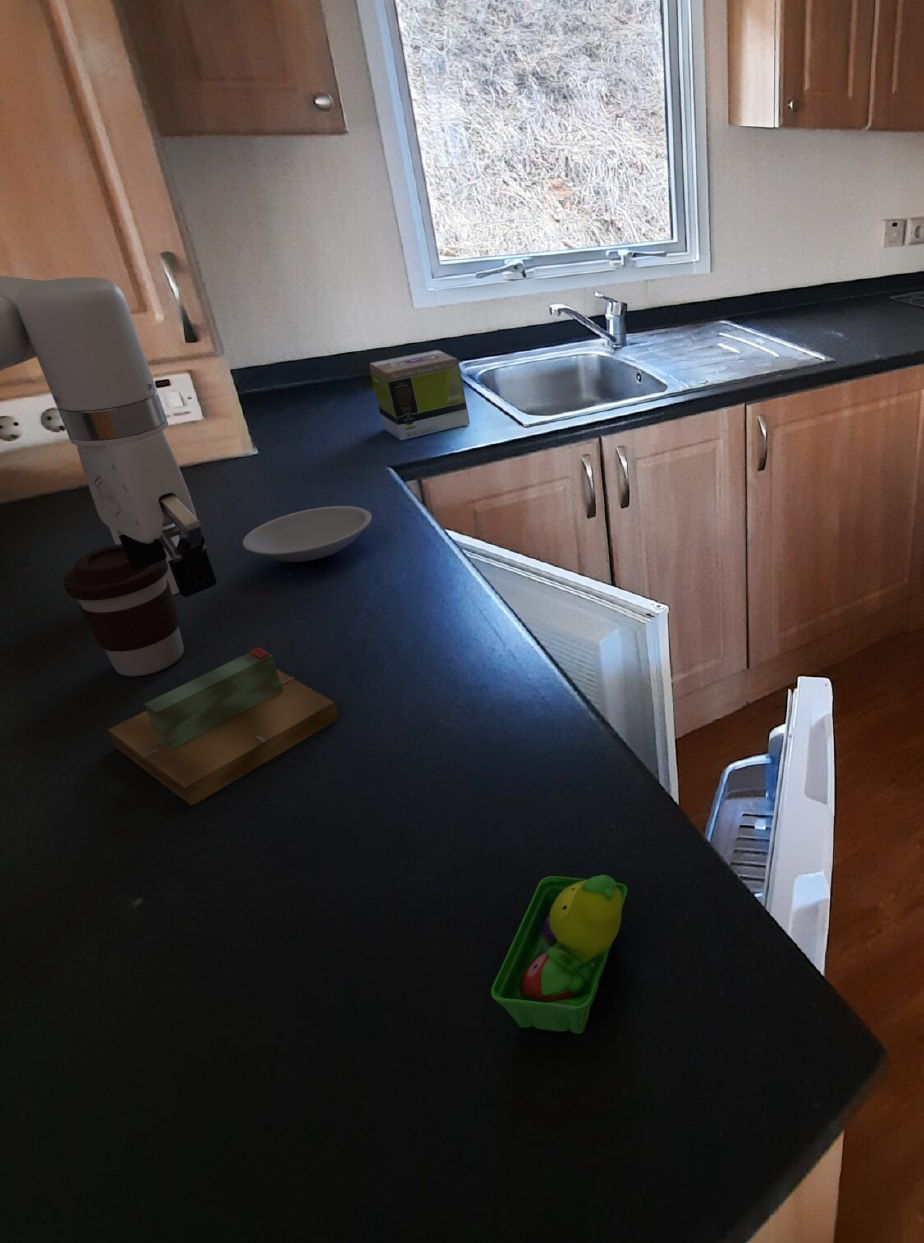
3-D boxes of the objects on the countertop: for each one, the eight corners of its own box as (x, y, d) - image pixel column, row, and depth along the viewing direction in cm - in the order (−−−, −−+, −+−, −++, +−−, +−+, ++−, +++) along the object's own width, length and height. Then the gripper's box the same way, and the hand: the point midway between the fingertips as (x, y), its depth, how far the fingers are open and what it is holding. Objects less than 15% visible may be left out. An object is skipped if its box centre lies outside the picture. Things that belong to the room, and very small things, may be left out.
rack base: (191, 807, 86) (183, 787, 85) (113, 747, 94) (105, 728, 93) (340, 719, 99) (335, 700, 97) (261, 672, 106) (255, 655, 105)
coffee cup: (83, 673, 105) (37, 567, 99) (162, 631, 114) (124, 531, 107) (138, 693, 102) (94, 584, 96) (215, 648, 111) (180, 545, 104)
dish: (361, 524, 142) (354, 497, 140) (391, 556, 133) (385, 527, 130) (241, 557, 132) (232, 528, 130) (264, 595, 122) (255, 564, 120)
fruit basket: (548, 914, 76) (533, 820, 71) (647, 924, 75) (638, 829, 70) (495, 1041, 65) (473, 942, 60) (609, 1054, 65) (596, 955, 60)
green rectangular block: (171, 750, 90) (155, 710, 88) (158, 741, 91) (142, 702, 89) (283, 690, 99) (271, 653, 97) (270, 683, 100) (258, 646, 98)
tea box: (451, 413, 191) (439, 348, 184) (470, 425, 184) (459, 358, 178) (382, 429, 182) (367, 360, 175) (400, 442, 175) (385, 371, 169)
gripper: (26, 411, 81) (92, 569, 88) (114, 448, 73) (178, 619, 80) (115, 390, 86) (170, 541, 94) (207, 422, 78) (258, 584, 86)
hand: (174, 576), depth 87 cm, fingers open, 9 cm apart
